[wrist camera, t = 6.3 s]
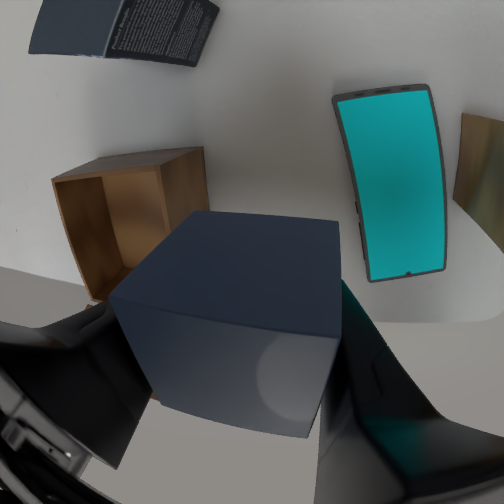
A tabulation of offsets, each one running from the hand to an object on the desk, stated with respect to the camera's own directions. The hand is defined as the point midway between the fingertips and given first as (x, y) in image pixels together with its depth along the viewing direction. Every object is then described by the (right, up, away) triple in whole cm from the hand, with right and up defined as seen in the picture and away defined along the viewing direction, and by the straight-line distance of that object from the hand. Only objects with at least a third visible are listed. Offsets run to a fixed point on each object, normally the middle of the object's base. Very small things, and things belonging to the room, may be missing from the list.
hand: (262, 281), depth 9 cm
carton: (-10, +4, +16) cm, 19 cm away
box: (-7, +19, +7) cm, 21 cm away
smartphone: (+11, +6, +9) cm, 15 cm away
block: (0, 0, 0) cm, 0 cm away
